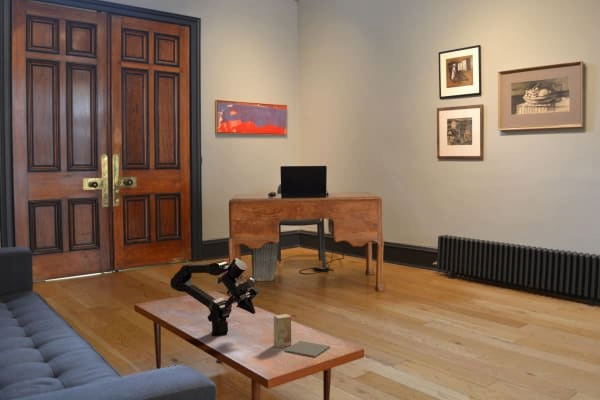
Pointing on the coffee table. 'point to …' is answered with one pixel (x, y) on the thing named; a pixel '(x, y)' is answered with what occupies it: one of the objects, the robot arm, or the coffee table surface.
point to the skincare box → (282, 330)
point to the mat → (307, 349)
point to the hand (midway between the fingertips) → (254, 313)
